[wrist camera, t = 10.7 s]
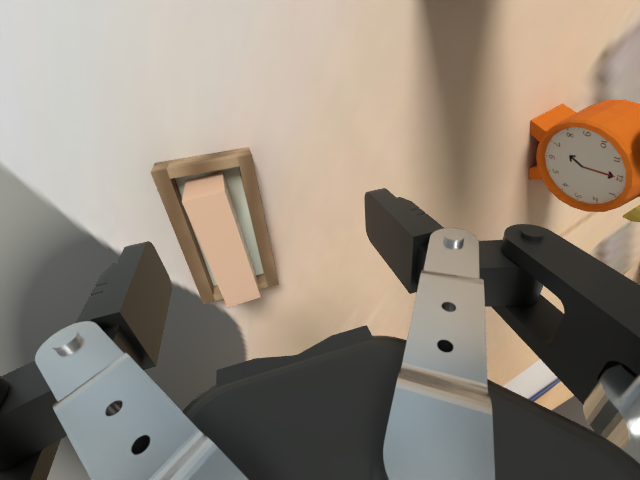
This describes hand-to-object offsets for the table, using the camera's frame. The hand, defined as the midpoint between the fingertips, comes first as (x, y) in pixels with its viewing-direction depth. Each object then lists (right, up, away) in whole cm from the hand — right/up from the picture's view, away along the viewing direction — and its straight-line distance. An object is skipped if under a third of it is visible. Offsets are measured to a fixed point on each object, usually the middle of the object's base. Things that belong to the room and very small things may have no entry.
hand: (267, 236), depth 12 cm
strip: (-10, +1, +26) cm, 28 cm away
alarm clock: (+36, +15, +36) cm, 53 cm away
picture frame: (-10, +2, +27) cm, 29 cm away
